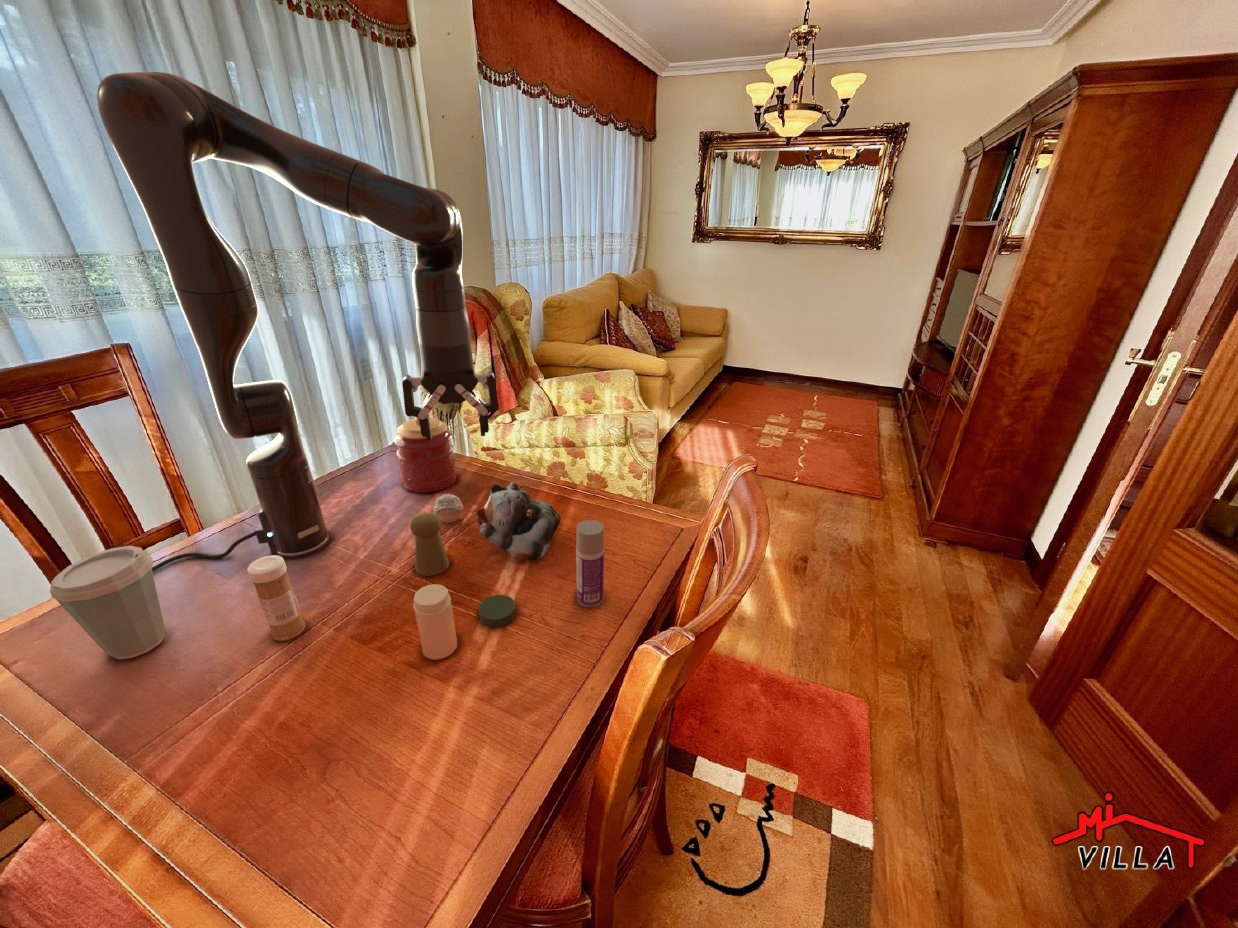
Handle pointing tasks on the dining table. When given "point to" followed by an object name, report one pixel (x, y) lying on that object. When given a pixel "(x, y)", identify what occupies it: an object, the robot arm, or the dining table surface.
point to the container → (590, 563)
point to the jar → (435, 621)
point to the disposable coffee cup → (114, 600)
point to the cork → (428, 544)
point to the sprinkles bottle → (276, 597)
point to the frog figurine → (448, 508)
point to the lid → (497, 610)
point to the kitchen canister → (425, 456)
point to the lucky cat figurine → (517, 522)
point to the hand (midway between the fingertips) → (456, 436)
